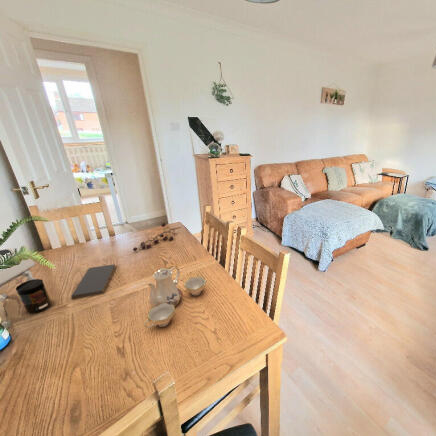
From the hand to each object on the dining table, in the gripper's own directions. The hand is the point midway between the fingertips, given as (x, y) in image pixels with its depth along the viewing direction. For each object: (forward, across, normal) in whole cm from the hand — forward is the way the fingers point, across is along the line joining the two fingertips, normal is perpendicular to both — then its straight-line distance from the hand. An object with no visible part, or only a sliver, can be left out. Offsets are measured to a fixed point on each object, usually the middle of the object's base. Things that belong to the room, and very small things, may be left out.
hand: (20, 290), depth 85 cm
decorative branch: (+21, +55, -9) cm, 59 cm away
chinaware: (+42, +4, -30) cm, 52 cm away
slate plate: (+14, +17, -2) cm, 22 cm away
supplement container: (+8, +1, +4) cm, 9 cm away
